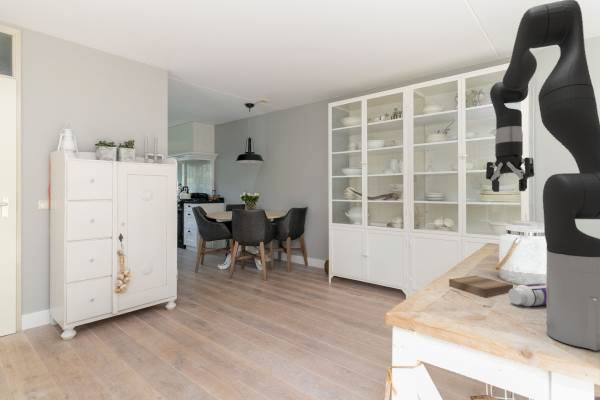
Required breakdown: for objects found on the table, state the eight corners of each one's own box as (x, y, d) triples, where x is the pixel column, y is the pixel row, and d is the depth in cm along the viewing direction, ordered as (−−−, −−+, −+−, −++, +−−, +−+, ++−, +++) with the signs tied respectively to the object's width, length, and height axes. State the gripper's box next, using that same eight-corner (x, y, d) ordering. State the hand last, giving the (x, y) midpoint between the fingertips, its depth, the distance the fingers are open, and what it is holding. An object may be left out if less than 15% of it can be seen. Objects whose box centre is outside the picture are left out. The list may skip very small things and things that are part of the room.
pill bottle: (534, 294, 87) (503, 297, 85) (541, 278, 84) (510, 281, 83) (551, 309, 82) (519, 312, 80) (560, 292, 79) (526, 295, 78)
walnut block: (512, 294, 93) (513, 284, 93) (485, 300, 88) (485, 289, 88) (475, 284, 104) (475, 275, 104) (449, 288, 99) (449, 279, 99)
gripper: (539, 139, 99) (539, 191, 99) (495, 146, 112) (495, 192, 112) (524, 137, 96) (523, 191, 96) (480, 144, 109) (480, 192, 109)
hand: (508, 191), depth 104 cm, fingers open, 8 cm apart
